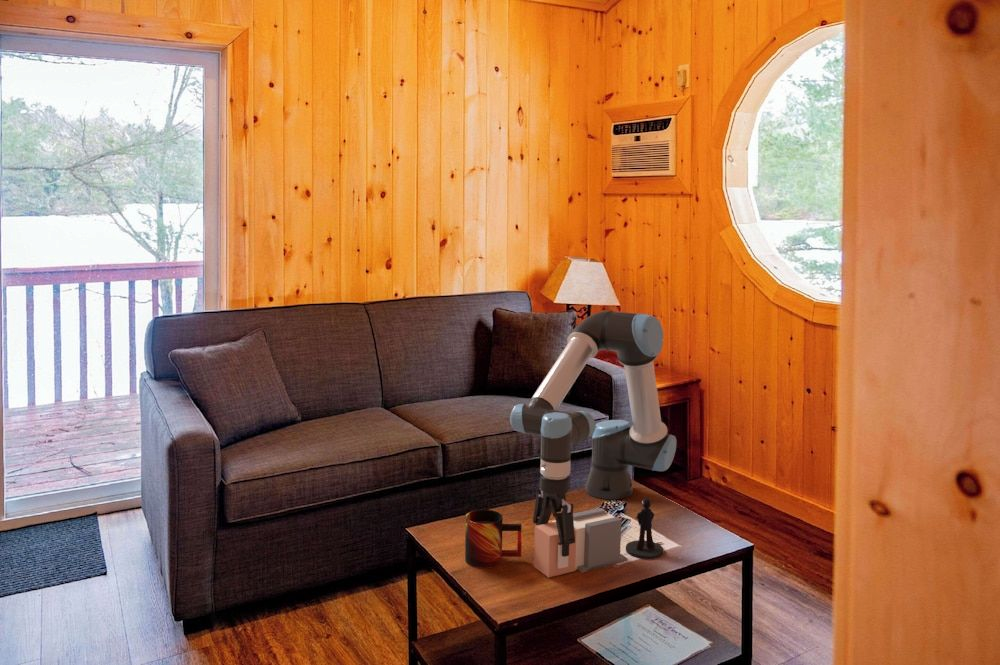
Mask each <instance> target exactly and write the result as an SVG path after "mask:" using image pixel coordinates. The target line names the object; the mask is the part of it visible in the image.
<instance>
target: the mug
mask: <svg viewBox="0 0 1000 665" xmlns="http://www.w3.org/2000/svg"><path fill="white" fill-rule="evenodd" d="M503 532H517V544H516V545H517V546H516V547H517V548H516V549H503ZM464 538H465V540H464V542H465V545H464V546H465V547H464V550H465V551H464V554H465V555H464V556H465V557H464V561H465V563H466V564H467V565H469V566H470V567H473V568H478V569H490V568H494V567H497V566H499V565H500V564H501V563H502V562H503V558H522V523H503V514H502V513H500V512H499V511H496V510H492V509H476V510H471V511H470V512H468V513H466V514H465V537H464Z"/></svg>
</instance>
